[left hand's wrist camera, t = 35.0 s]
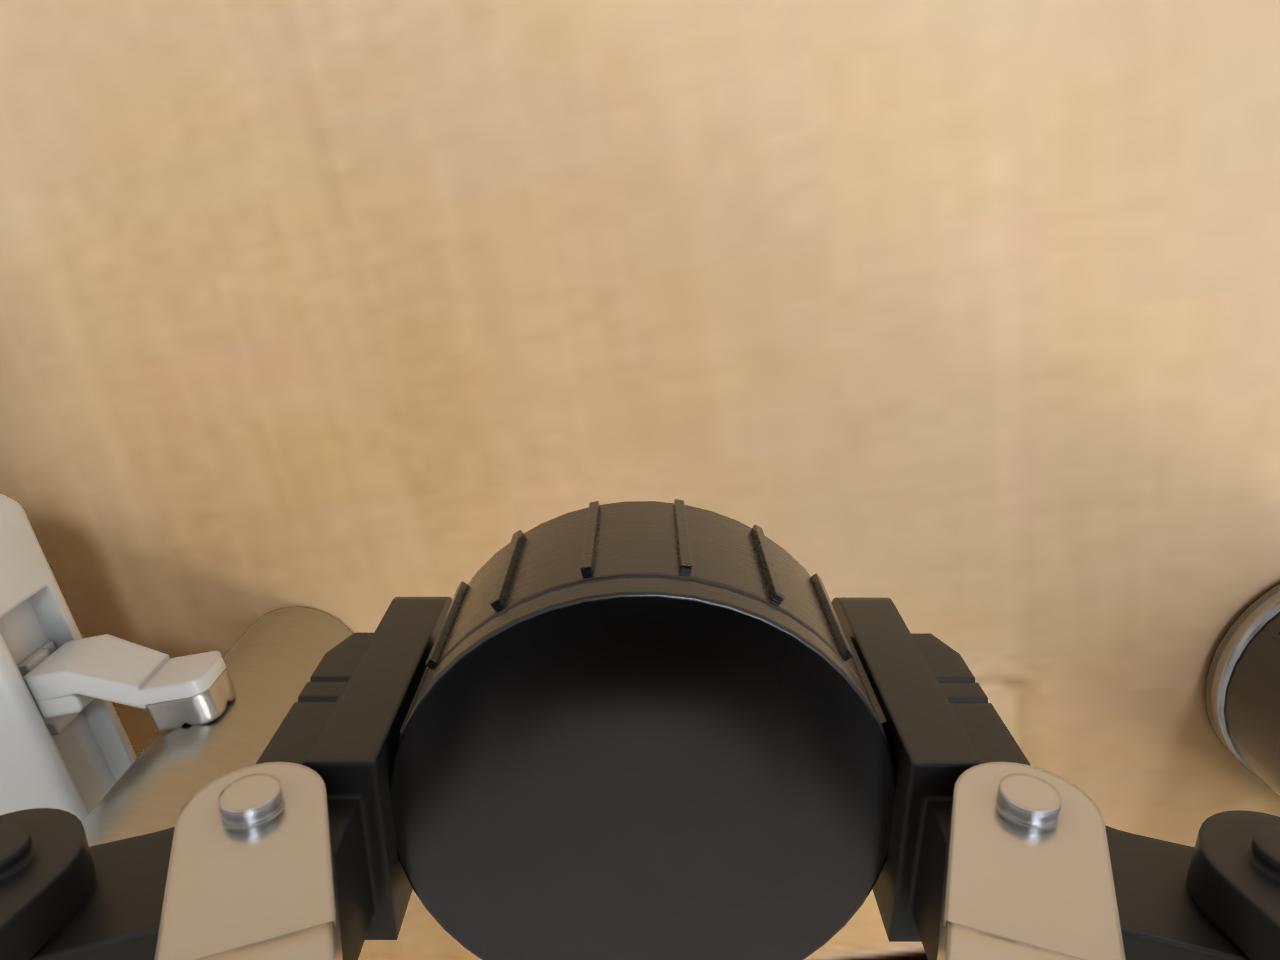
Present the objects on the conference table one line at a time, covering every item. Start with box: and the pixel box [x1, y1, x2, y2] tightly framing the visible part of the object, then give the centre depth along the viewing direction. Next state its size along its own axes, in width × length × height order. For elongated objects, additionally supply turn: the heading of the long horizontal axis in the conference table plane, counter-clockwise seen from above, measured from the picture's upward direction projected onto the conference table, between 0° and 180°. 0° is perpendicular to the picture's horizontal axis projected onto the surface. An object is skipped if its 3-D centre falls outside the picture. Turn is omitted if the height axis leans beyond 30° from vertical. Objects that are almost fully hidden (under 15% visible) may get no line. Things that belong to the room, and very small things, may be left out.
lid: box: [389, 499, 896, 960], centre depth 10 cm, size 5×5×2 cm
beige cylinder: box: [82, 607, 353, 847], centre depth 24 cm, size 5×5×19 cm
